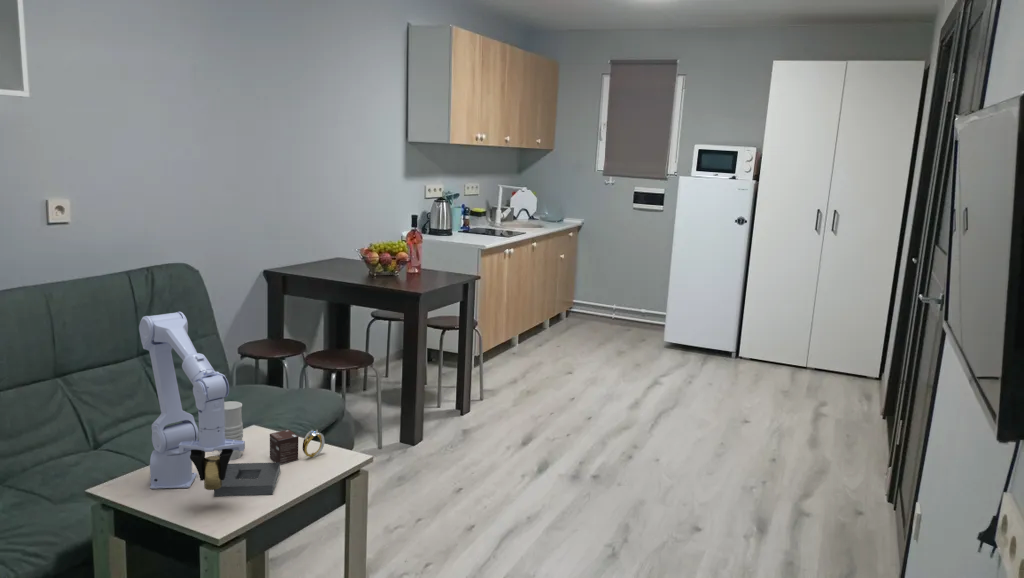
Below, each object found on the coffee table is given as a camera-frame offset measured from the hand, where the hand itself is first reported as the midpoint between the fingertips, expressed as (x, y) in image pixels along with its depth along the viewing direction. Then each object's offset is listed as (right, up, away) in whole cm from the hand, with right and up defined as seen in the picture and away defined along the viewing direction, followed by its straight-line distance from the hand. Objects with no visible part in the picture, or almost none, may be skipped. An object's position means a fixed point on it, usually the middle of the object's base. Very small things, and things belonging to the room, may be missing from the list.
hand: (212, 478), depth 173 cm
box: (+8, -3, +30) cm, 31 cm away
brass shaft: (0, -2, 0) cm, 2 cm away
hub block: (+3, -5, +14) cm, 15 cm away
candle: (-8, -2, +30) cm, 31 cm away
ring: (+15, -2, +32) cm, 36 cm away
